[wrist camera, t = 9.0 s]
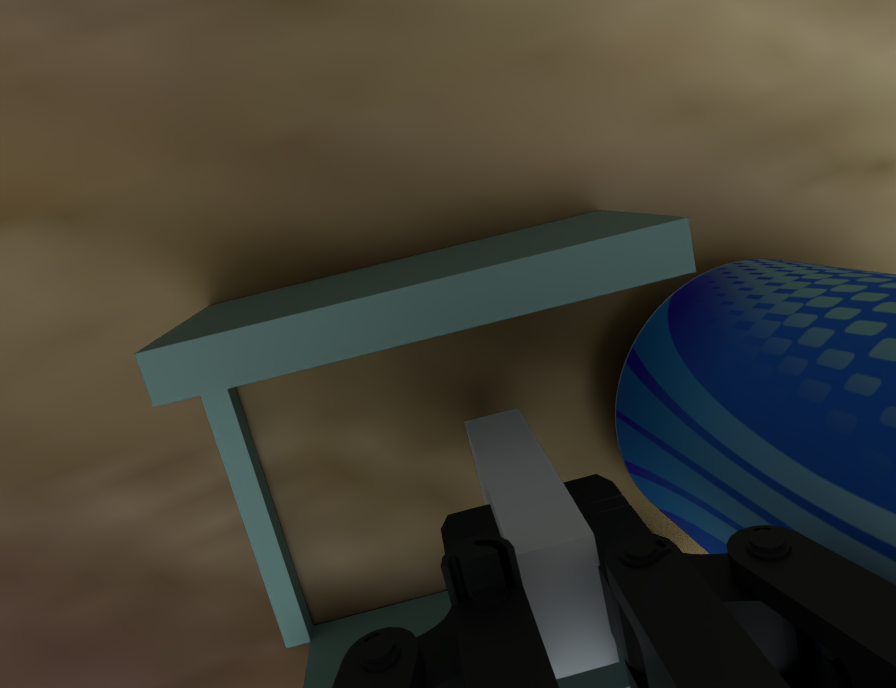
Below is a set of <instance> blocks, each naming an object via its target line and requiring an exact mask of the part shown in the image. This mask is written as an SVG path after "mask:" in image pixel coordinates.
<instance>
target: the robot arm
mask: <svg viewBox="0 0 896 688" xmlns="http://www.w3.org/2000/svg"><path fill="white" fill-rule="evenodd" d="M464 422H465V426H466V431H467V435H468V439H469V443H470V447H471V451H472V455H473V459H474V463H475V467H476V471H477V475H478V479H479V484H480V488H481V492H482V496H483V500H484V504H485V505H484V506H480V507H476V508H472V509H469V510H465V511H461V512H457V513H454V514H450V515H448V516H447V518H446V520H445V522H444V524H443V526H442V528H441V533H442V538H443V544H444V550H445V555H444V556H443V558H442V563H441V569H442V573H443V576H444V580H445V584H446V587H447V591H448V595H449V598H450V602H451V608H450V611H449V612H448V614H447V615H446V616H445V618H444V619H443V620H442V621H441V622H440V623H439V624H438V625H436V626H435V627H433V628H432V629H430V630H429V631H427V632H425V633H424V634H422V635H420V636H418V637H415V635H414V634H413V633H412V632H411V631H409V630H406V629H404V628H402V627H386V628H382V629H378V630H374V631H372V632H370V633H368V634H366V635H365V636H363V637H361V638H360V639H359V640H357V641H356V642H355V643H354V644H353V645H352V646H351V647H350V648H349V649H348V651H347V653H346V654H345V656H344V658H343V660H342V662H341V665H340V668H339V670H338V673H337V676H336V678H335V681H334V683H333V686H332V688H559V686H558V683H557V680H556V679H559V678H563V677H567V676H570V675H574V674H578V673H581V672H585V671H588V670H592V669H596V668H599V667H603V666H607V665H610V664H614V663H617V662H619V658H618V653H617V648H616V643H617V645H618V647H619V649H620V651H621V653H622V655H623V657H624V660H625V666H626V671H627V676H628V681H629V686H630V688H896V585H894V584H893V583H891V582H889V581H887V580H885V579H883V578H881V577H880V576H878V575H876V574H874V573H872V572H870V571H869V570H867V569H865V568H863V567H861V566H859V565H857V564H856V563H854V562H852V561H850V560H848V559H846V558H845V557H843V556H841V555H839V554H837V553H835V552H833V551H832V550H830V549H828V548H826V547H824V546H822V545H821V544H819V543H817V542H815V541H813V540H811V539H809V538H808V537H806V536H804V535H802V534H800V533H798V532H796V531H793V530H791V529H788V528H785V527H780V526H773V525H757V526H751V527H747V528H744V529H741V530H739V531H737V532H736V533H734V534H733V535H731V536H730V538H729V540H728V542H727V544H726V547H727V553H722V554H688V553H682V552H681V550H680V549H679V548H678V547H677V545H676V544H674V543H673V542H672V541H670V540H669V539H668V538H665V537H662V536H659V535H656V534H652V533H651V531H650V530H649V529H648V527H647V526H646V525H645V523H644V522H643V521H642V519H641V518H640V517H639V516H638V514H637V513H636V512H635V510H634V509H633V508H632V506H631V505H629V503H628V501H627V500H626V499H625V497H624V496H622V494H621V492H620V491H619V489H618V488H617V487H616V486H615V484H614V483H613V482H612V481H610V480H608V479H606V478H604V477H601V476H599V475H597V474H594V475H591V476H587V477H583V478H579V479H576V480H572V481H568V482H564V483H563V482H562V480H561V479H560V477H559V475H558V474H557V472H556V470H555V469H554V467H553V465H552V464H551V462H550V460H549V459H548V457H547V455H546V454H545V452H544V450H543V449H542V447H541V445H540V444H539V442H538V440H537V439H536V437H535V435H534V434H533V432H532V430H531V429H530V427H529V425H528V424H527V422H526V420H525V419H524V417H523V415H522V414H521V412H520V410H519V409H518V408H514V409H510V410H507V411H503V412H499V413H495V414H491V415H487V416H483V417H480V418H476V419H472V420H468V421H464ZM615 641H616V643H615Z"/></svg>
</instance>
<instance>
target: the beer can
mask: <svg viewBox="0 0 896 688" xmlns="http://www.w3.org/2000/svg"><path fill="white" fill-rule="evenodd" d="M615 428H616V435H617V441H618V445H619V449H620V453H621V456H622V459H623V461H624V464H625V466H626V468H627V470H628V472H629V474H630V476H631V478H632V479H633V481H634V482H635V484H636V485H637V487H638V488H639V490H640V491H641V492H642V493H643V494H644V496H645V497H646V498H647V499H648V500H649V501H650V502H651V503H652V504H653V505H655V506H656V507H657V508H658V509H659V510H660V511H661V512H663V513H664V514H665V515H666V516H667V517H668V518H669V519H671V520H672V521H673V522H674V523H675V524H676V525H677V526H679V527H680V528H681V529H682V530H683V531H684V532H685V533H687V534H688V535H689V536H690V537H691V538H692V539H693V540H695V541H696V542H697V543H698V544H699V545H700V546H701V547H703V548H704V549H705V550H706V551H707V552H708V553H709V554H722V553H727V547H726V544H727V542H728V540H729V538H730V536H731V535H733V534H734V533H736V532H737V531H739V530H741V529H744V528H747V527H751V526H757V525H773V526H780V527H785V528H788V529H791V530H793V531H796V532H798V533H800V534H802V535H804V536H806V537H808V538H809V539H811V540H813V541H815V542H817V543H819V544H821V545H822V546H824V547H826V548H828V549H830V550H832V551H833V552H835V553H837V554H839V555H841V556H843V557H845V558H846V559H848V560H850V561H852V562H854V563H856V564H857V565H859V566H861V567H863V568H865V569H867V570H869V571H870V572H872V573H874V574H876V575H878V576H880V577H881V578H883V579H885V580H887V581H889V582H891V583H893V584H894V585H896V275H895V274H887V273H879V272H871V271H863V270H855V269H847V268H839V267H831V266H823V265H815V264H806V263H798V262H790V261H782V260H773V259H751V260H743V261H737V262H733V263H729V264H725V265H722V266H719V267H716V268H714V269H711V270H709V271H707V272H705V273H703V274H701V275H699V276H697V277H695V278H694V279H692V280H690V281H689V282H687V283H686V284H684V285H683V286H682V287H680V288H679V289H677V290H676V291H675V292H674V293H673V294H672V295H670V296H669V297H668V298H667V299H666V300H665V301H664V302H663V303H662V304H661V305H660V306H659V307H658V308H657V309H656V310H655V312H654V313H653V314H652V315H651V317H650V318H649V319H648V320H647V322H646V323H645V325H644V326H643V328H642V329H641V330H640V332H639V333H638V335H637V337H636V339H635V341H634V343H633V344H632V346H631V348H630V351H629V353H628V355H627V358H626V360H625V363H624V366H623V369H622V372H621V375H620V379H619V383H618V388H617V395H616V403H615Z"/></svg>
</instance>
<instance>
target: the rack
mask: <svg viewBox="0 0 896 688" xmlns="http://www.w3.org/2000/svg"><path fill="white" fill-rule="evenodd" d="M693 272H696V268H695V261H694V254H693V247H692V239H691V232H690V225H689V218H688V217H678V216H665V215H653V214H640V213H628V212H615V211H603V210H598V211H594V212H590V213H586V214H582V215H578V216H574V217H570V218H566V219H561V220H557V221H553V222H549V223H545V224H541V225H537V226H533V227H529V228H525V229H521V230H516V231H512V232H508V233H504V234H500V235H496V236H492V237H488V238H484V239H480V240H476V241H472V242H467V243H463V244H459V245H455V246H451V247H447V248H443V249H439V250H435V251H431V252H427V253H422V254H418V255H414V256H410V257H406V258H402V259H398V260H394V261H390V262H386V263H382V264H377V265H373V266H369V267H365V268H361V269H357V270H353V271H349V272H345V273H341V274H337V275H333V276H328V277H324V278H320V279H316V280H312V281H308V282H304V283H300V284H296V285H292V286H288V287H283V288H279V289H275V290H271V291H267V292H263V293H259V294H255V295H251V296H247V297H243V298H238V299H234V300H230V301H226V302H222V303H218V304H214V305H210V306H208V307H206V308H204V309H203V310H201V311H200V312H198V313H197V314H195V315H194V316H192V317H191V318H189V319H187V320H186V321H184V322H183V323H181V324H180V325H178V326H177V327H175V328H174V329H172V330H171V331H169V332H167V333H166V334H164V335H163V336H161V337H160V338H158V339H157V340H155V341H154V342H152V343H150V344H149V345H147V346H146V347H144V348H143V349H141V350H140V351H138V352H137V353H135V356H136V359H137V362H138V365H139V367H140V370H141V373H142V376H143V379H144V381H145V384H146V387H147V390H148V392H149V395H150V398H151V401H152V404H153V406H154V407H157V406H161V405H165V404H169V403H173V402H177V401H181V400H185V399H189V398H193V397H197V396H201V399H202V402H203V405H204V408H205V411H206V414H207V417H208V420H209V423H210V426H211V429H212V431H213V434H214V437H215V440H216V443H217V446H218V449H219V452H220V455H221V458H222V461H223V464H224V467H225V470H226V473H227V475H228V478H229V481H230V484H231V487H232V490H233V493H234V496H235V499H236V502H237V505H238V508H239V511H240V514H241V516H242V519H243V522H244V525H245V528H246V531H247V534H248V537H249V540H250V543H251V546H252V549H253V552H254V555H255V558H256V560H257V563H258V566H259V569H260V572H261V575H262V578H263V581H264V584H265V587H266V590H267V593H268V596H269V599H270V601H271V604H272V607H273V610H274V613H275V616H276V619H277V622H278V625H279V628H280V631H281V634H282V637H283V640H284V643H285V645H286V648H289V647H293V646H297V645H301V644H304V643H308V642H311V643H310V649H309V655H308V662H307V668H306V674H305V680H304V686H303V688H332V686H333V683H334V681H335V678H336V676H337V673H338V670H339V668H340V665H341V662H342V660H343V658H344V656H345V654H346V653H347V651H348V649H349V648H350V647H351V646H352V645H353V644H354V643H355V642H356V641H357V640H359V639H360V638H361V637H363V636H365V635H366V634H368V633H370V632H372V631H374V630H378V629H382V628H386V627H402V628H404V629H406V630H409V631H411V632H412V633H413V634H414V635H415V637H418V636H420V635H422V634H424V633H425V632H427V631H429V630H430V629H432V628H433V627H435V626H436V625H438V624H439V623H440V622H441V621H442V620H443V619H444V618H445V616H446V615H447V614H448V612H449V611H450V608H451V602H450V598H449V595H448V591H443V592H439V593H436V594H432V595H428V596H424V597H421V598H417V599H413V600H409V601H406V602H402V603H398V604H394V605H391V606H387V607H383V608H379V609H376V610H372V611H368V612H364V613H360V614H357V615H353V616H349V617H345V618H342V619H338V620H334V621H330V622H327V623H323V624H319V625H315V626H313V624H312V621H311V618H310V615H309V612H308V609H307V606H306V602H305V599H304V596H303V593H302V590H301V587H300V584H299V581H298V578H297V575H296V572H295V569H294V566H293V563H292V560H291V557H290V553H289V550H288V547H287V544H286V541H285V538H284V535H283V532H282V529H281V526H280V523H279V520H278V517H277V514H276V511H275V508H274V504H273V501H272V498H271V495H270V492H269V489H268V486H267V483H266V480H265V477H264V474H263V471H262V468H261V465H260V462H259V459H258V456H257V452H256V449H255V446H254V443H253V440H252V437H251V434H250V431H249V428H248V425H247V422H246V419H245V416H244V413H243V410H242V407H241V403H240V400H239V397H238V394H237V391H236V388H235V387H237V386H241V385H245V384H249V383H253V382H257V381H261V380H265V379H269V378H273V377H277V376H281V375H285V374H289V373H293V372H297V371H301V370H305V369H309V368H313V367H317V366H321V365H325V364H329V363H333V362H337V361H341V360H345V359H349V358H353V357H357V356H361V355H365V354H369V353H373V352H377V351H381V350H385V349H389V348H393V347H397V346H401V345H405V344H409V343H413V342H417V341H421V340H425V339H429V338H433V337H437V336H441V335H445V334H449V333H453V332H457V331H461V330H465V329H469V328H473V327H477V326H481V325H485V324H489V323H493V322H497V321H501V320H505V319H509V318H513V317H517V316H521V315H525V314H529V313H533V312H537V311H541V310H545V309H549V308H553V307H557V306H561V305H565V304H569V303H573V302H577V301H581V300H585V299H589V298H593V297H597V296H601V295H605V294H609V293H613V292H617V291H621V290H625V289H629V288H633V287H637V286H641V285H645V284H649V283H653V282H657V281H661V280H665V279H669V278H673V277H677V276H681V275H685V274H689V273H693ZM615 643H616V641H615ZM616 648H617V653H618V658H619V662H617V663H614V664H610V665H607V666H603V667H599V668H596V669H592V670H588V671H585V672H581V673H578V674H574V675H570V676H567V677H563V678H559V679H556V680H557V683H558V686H559V688H630V686H629V681H628V676H627V671H626V666H625V660H624V657H623V655H622V653H621V651H620V649H619V647H618V645H617V643H616Z"/></svg>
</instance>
